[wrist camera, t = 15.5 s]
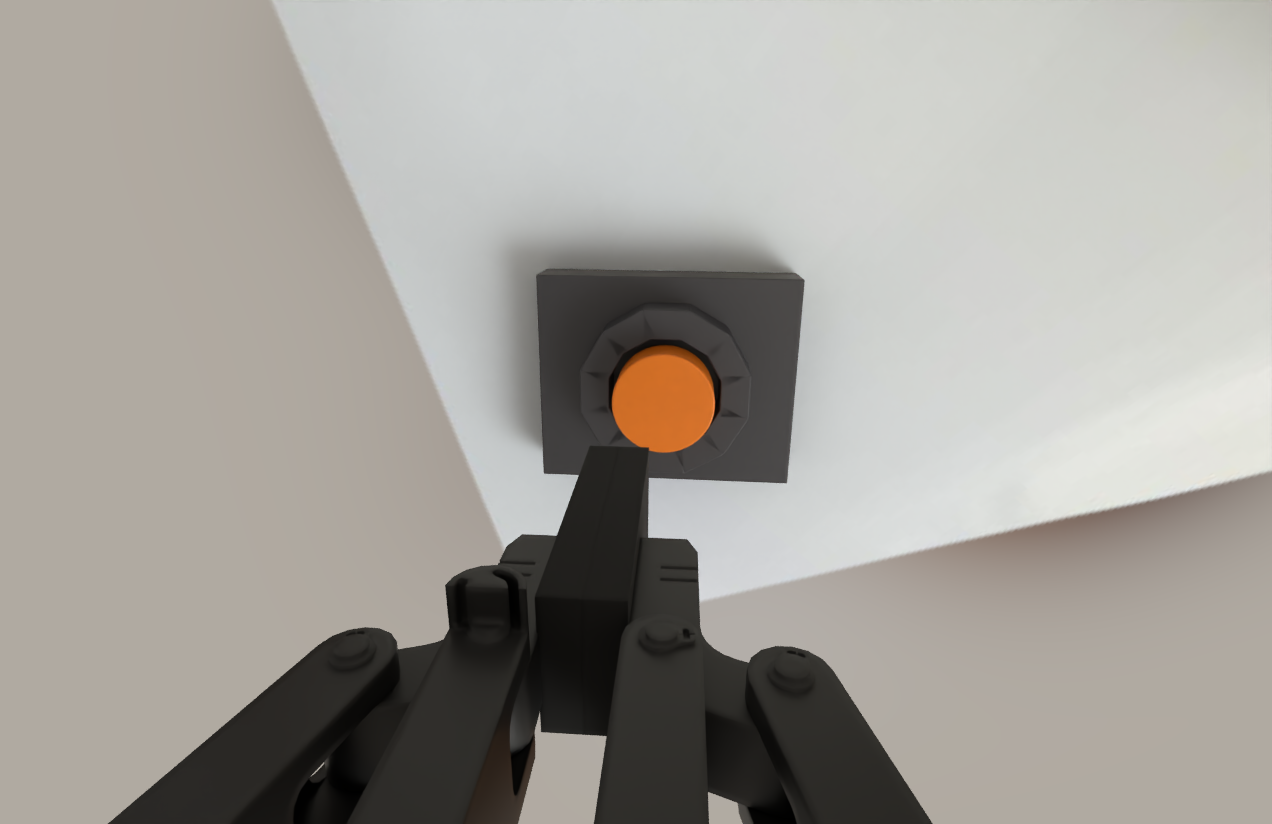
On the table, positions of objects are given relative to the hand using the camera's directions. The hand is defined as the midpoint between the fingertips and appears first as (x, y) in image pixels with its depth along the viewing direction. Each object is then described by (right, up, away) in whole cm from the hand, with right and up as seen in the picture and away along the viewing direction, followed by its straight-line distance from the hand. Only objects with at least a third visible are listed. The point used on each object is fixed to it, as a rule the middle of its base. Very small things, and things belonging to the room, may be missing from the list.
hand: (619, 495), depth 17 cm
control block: (+2, +4, +14) cm, 14 cm away
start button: (+2, +3, +10) cm, 11 cm away
